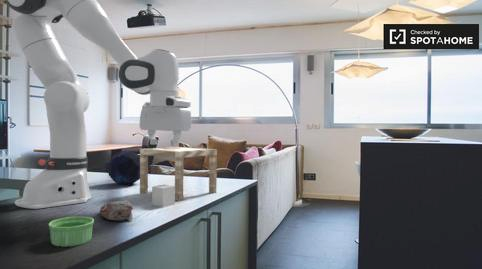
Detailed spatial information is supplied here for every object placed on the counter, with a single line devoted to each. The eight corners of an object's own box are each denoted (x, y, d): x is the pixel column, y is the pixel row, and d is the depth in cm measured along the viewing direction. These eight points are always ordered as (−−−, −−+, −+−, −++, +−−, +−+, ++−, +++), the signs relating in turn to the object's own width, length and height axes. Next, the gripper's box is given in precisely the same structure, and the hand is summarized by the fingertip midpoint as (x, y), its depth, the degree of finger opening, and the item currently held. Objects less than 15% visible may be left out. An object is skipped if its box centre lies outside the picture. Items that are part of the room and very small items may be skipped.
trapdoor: (179, 154, 125) (179, 150, 125) (151, 151, 133) (151, 148, 133) (205, 151, 136) (205, 148, 136) (178, 149, 145) (178, 147, 145)
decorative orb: (103, 175, 141) (127, 144, 145) (98, 170, 154) (120, 142, 158) (132, 195, 147) (155, 164, 151) (125, 189, 160) (146, 161, 164)
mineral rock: (98, 213, 104) (98, 197, 104) (126, 210, 108) (126, 195, 108) (101, 226, 91) (101, 209, 91) (134, 223, 94) (134, 206, 94)
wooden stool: (178, 201, 121) (179, 152, 121) (139, 193, 133) (140, 149, 132) (216, 192, 138) (216, 149, 137) (178, 186, 149) (179, 146, 149)
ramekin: (38, 244, 76) (38, 224, 76) (72, 233, 85) (72, 214, 85) (71, 250, 73) (71, 229, 73) (102, 238, 82) (102, 218, 81)
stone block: (162, 207, 112) (163, 188, 112) (152, 205, 115) (152, 186, 115) (174, 204, 116) (174, 186, 116) (163, 202, 119) (163, 184, 119)
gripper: (135, 101, 118) (134, 144, 118) (180, 100, 106) (179, 147, 107) (150, 103, 123) (149, 143, 124) (194, 101, 111) (194, 146, 112)
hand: (163, 145), depth 115 cm, fingers open, 8 cm apart
